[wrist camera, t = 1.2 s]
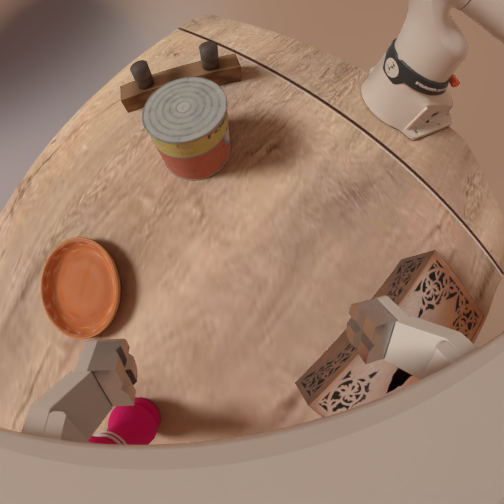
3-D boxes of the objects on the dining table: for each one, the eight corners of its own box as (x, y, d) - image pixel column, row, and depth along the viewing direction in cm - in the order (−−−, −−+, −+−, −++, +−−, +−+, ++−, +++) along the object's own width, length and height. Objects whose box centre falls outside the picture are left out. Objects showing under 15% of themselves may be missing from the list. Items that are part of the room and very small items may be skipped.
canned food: (237, 171, 44) (235, 130, 32) (168, 188, 44) (144, 153, 32) (223, 115, 46) (218, 69, 34) (160, 131, 45) (140, 89, 33)
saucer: (120, 347, 40) (112, 350, 37) (46, 324, 40) (36, 325, 37) (133, 246, 42) (125, 243, 39) (57, 235, 42) (48, 232, 39)
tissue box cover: (401, 259, 43) (435, 249, 33) (447, 315, 42) (484, 316, 32) (294, 382, 40) (308, 405, 30) (353, 431, 38) (376, 458, 29)
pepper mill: (136, 385, 39) (70, 436, 19) (172, 415, 38) (127, 485, 18) (114, 412, 38) (49, 465, 18) (148, 440, 37) (99, 508, 17)
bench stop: (235, 67, 48) (234, 34, 39) (240, 80, 47) (240, 47, 38) (127, 98, 46) (111, 69, 37) (128, 112, 46) (111, 84, 37)
